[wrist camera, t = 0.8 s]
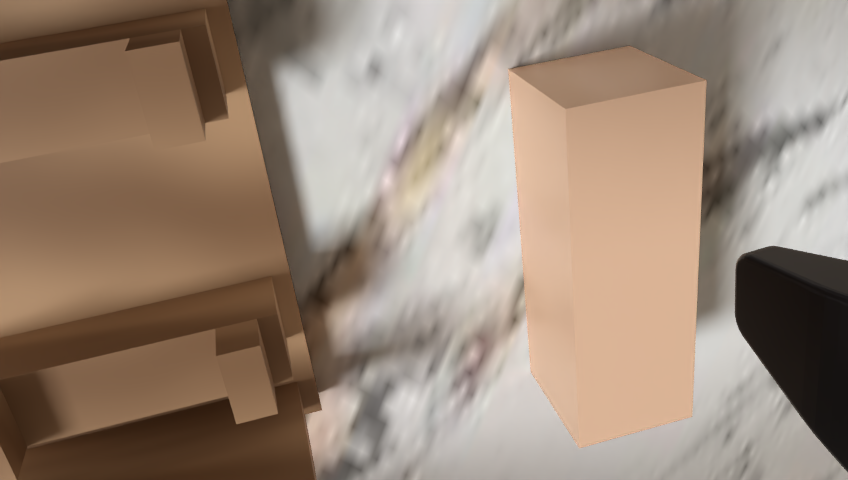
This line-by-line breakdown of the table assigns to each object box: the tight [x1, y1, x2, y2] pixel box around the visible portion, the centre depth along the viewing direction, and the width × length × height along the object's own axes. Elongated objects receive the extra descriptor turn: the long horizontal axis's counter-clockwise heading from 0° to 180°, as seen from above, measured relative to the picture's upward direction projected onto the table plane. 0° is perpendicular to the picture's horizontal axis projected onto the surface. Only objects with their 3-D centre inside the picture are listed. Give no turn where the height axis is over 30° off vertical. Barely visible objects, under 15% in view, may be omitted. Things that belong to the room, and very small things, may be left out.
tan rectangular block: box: [508, 46, 707, 448], centre depth 22 cm, size 10×4×4 cm, turn 8°
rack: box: [0, 0, 322, 480], centre depth 18 cm, size 14×9×6 cm, turn 8°
